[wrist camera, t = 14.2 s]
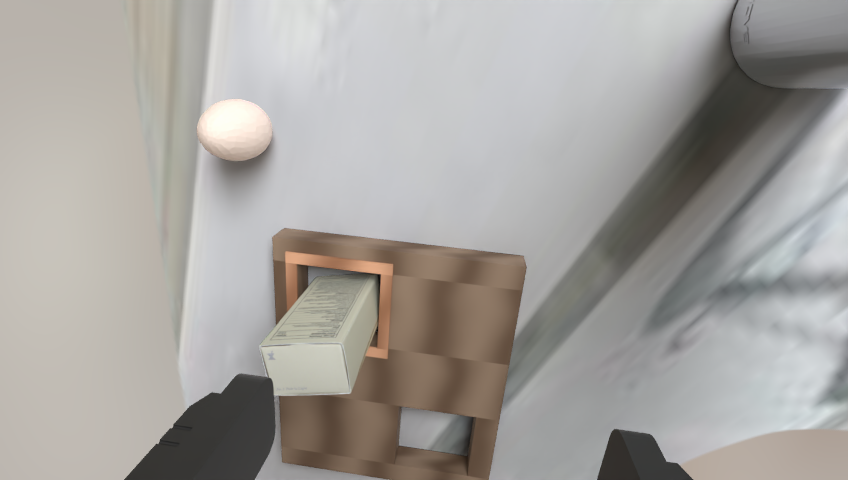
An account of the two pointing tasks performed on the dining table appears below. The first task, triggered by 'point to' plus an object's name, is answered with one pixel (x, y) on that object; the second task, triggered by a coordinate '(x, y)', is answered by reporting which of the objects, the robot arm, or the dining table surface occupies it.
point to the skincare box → (323, 336)
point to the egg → (234, 130)
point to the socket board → (406, 354)
